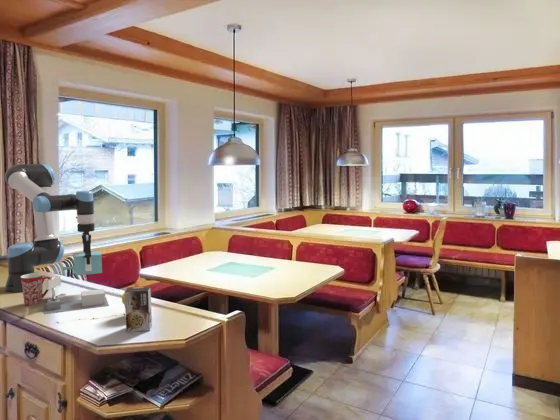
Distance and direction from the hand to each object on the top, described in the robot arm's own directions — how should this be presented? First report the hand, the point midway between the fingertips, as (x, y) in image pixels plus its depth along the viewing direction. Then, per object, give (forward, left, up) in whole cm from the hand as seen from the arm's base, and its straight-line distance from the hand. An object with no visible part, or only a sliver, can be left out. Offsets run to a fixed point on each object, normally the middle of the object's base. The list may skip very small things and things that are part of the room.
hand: (87, 268), depth 220 cm
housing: (+17, -6, -14) cm, 23 cm away
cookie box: (+56, +15, -14) cm, 60 cm away
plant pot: (+40, +16, -14) cm, 45 cm away
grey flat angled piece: (+16, -14, -9) cm, 23 cm away
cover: (0, -3, -2) cm, 3 cm away
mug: (+2, -22, -14) cm, 26 cm away
